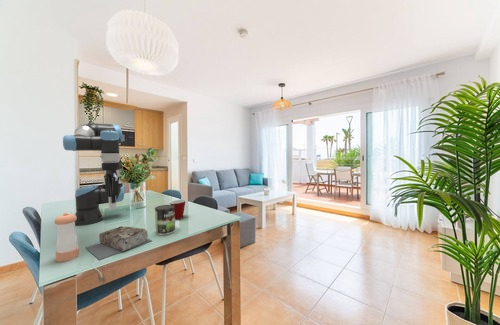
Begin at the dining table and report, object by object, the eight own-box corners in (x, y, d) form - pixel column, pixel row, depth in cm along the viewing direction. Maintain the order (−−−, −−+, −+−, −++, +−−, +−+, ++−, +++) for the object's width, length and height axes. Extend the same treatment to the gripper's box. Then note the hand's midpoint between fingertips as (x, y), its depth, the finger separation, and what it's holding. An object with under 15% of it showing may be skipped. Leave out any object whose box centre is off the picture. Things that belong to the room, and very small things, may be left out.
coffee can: (179, 230, 114) (178, 206, 113) (163, 236, 105) (162, 210, 105) (167, 226, 119) (167, 203, 119) (151, 232, 111) (150, 207, 110)
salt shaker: (83, 252, 89) (81, 210, 88) (69, 261, 81) (66, 215, 80) (66, 253, 88) (64, 210, 88) (50, 262, 81) (48, 216, 80)
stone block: (99, 246, 97) (123, 253, 88) (97, 232, 97) (121, 238, 88) (126, 234, 109) (150, 239, 100) (124, 222, 109) (148, 226, 99)
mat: (85, 248, 93) (85, 247, 93) (135, 232, 111) (135, 232, 111) (99, 260, 82) (99, 259, 82) (151, 241, 100) (151, 240, 100)
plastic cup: (174, 215, 142) (173, 198, 141) (188, 215, 140) (188, 199, 140) (166, 220, 131) (165, 202, 130) (182, 220, 130) (181, 202, 129)
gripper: (97, 162, 100) (99, 208, 101) (106, 162, 92) (109, 213, 93) (114, 161, 106) (116, 205, 107) (124, 162, 98) (126, 209, 99)
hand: (112, 208), depth 100 cm, fingers closed
